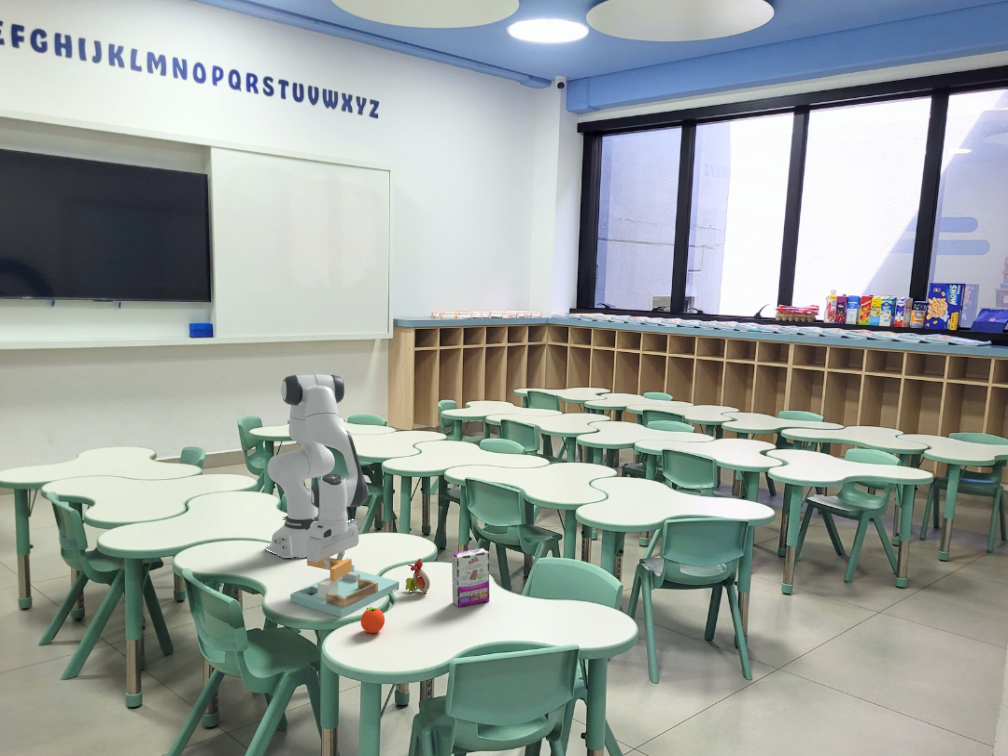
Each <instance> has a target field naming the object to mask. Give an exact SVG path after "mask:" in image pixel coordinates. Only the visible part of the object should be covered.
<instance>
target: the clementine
mask: <svg viewBox="0 0 1008 756" xmlns="http://www.w3.org/2000/svg"><path fill="white" fill-rule="evenodd" d="M360 617H361V618H360V625H361V628H362V629H363V630H364V632H366V633H369V634H375V633H378V632H379V631H382V629H383V627H384V625H385V621H386V617H385V614H384V613H383V611H381V610H380V609H379V608H377V607H376V608H375V607H372V606H370V607H366V609H365V611H364V612H363V613H362V615H361V616H360Z"/></svg>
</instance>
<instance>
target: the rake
mask: <svg viewBox="0 0 1008 756" xmlns="http://www.w3.org/2000/svg"><path fill="white" fill-rule="evenodd" d="M329 561H330V563H332V568H330V569H329V570H328V569H326V568H325V563H324V561H323V560H320V561H318V562H312V561H309V560H308V559H307V558H306V564H307V566H309V567H313V568H317V569H323V570H327V571H329V577H330V581H336V580H338V579H339V578H341V577H343V576H344V575H346V574H348V573H349V572H351V571H352V565H353V564H352V563H353V561H352V558H345V559H344V560H343V559H342V560H339V559H337V558H333V557H330V560H329Z"/></svg>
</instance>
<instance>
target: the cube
mask: <svg viewBox="0 0 1008 756" xmlns="http://www.w3.org/2000/svg"><path fill="white" fill-rule="evenodd" d="M327 578H328V577H326V578H324V579H322V580H323V581H322V580H320V581H321V582H319V581H318V582H319V583H318V597H320V598H325V599H326V593H328V592H330V593H333V594H337V595H338V580H336V581H330V579H327Z"/></svg>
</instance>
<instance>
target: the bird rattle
mask: <svg viewBox="0 0 1008 756" xmlns="http://www.w3.org/2000/svg"><path fill="white" fill-rule="evenodd" d="M423 565H424V564H423V562H422V559H421V558H419V559H417V561H416V562H414V565H413V564H410V563H409V564H407V566H408V567H410V571H411V572H413V576H412V577H407V578H406V579H405V583H406V585H405V590H406V591H407V590H409V592H410V591H413V590H414V591H415V588H416V589H417V588H418V591H420V592H422V593H423V594H424V593H425V594H426V592H427V593H428V590H429V589H430V585H431V582H430V579H429V576H428V575H427V573H426V572H425V571H424V570H423V569H422V568H423Z"/></svg>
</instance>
